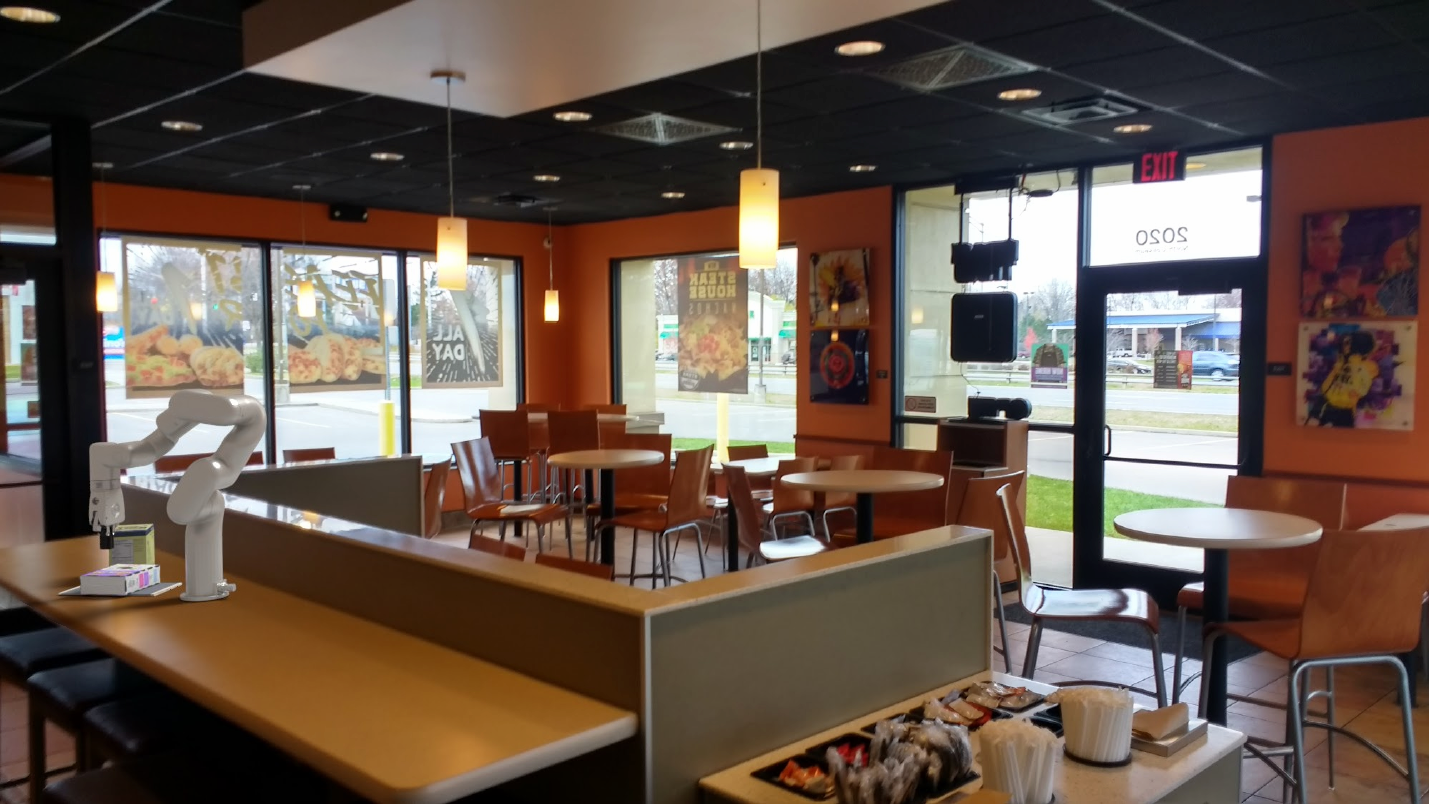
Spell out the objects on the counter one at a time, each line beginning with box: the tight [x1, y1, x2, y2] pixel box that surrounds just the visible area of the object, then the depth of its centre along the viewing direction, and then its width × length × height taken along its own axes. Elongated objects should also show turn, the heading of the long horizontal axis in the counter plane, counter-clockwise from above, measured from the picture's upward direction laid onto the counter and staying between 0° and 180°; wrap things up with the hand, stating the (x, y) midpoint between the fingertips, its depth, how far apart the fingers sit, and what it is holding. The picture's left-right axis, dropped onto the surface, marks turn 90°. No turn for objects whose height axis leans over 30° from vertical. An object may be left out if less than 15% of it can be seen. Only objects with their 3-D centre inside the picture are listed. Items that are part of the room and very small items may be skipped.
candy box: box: [79, 564, 161, 595], centre depth 304 cm, size 14×6×16 cm
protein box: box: [108, 523, 156, 567], centre depth 324 cm, size 10×16×16 cm
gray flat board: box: [57, 582, 183, 597], centre depth 305 cm, size 28×15×1 cm, turn 89°
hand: (107, 548), depth 298 cm, fingers closed
